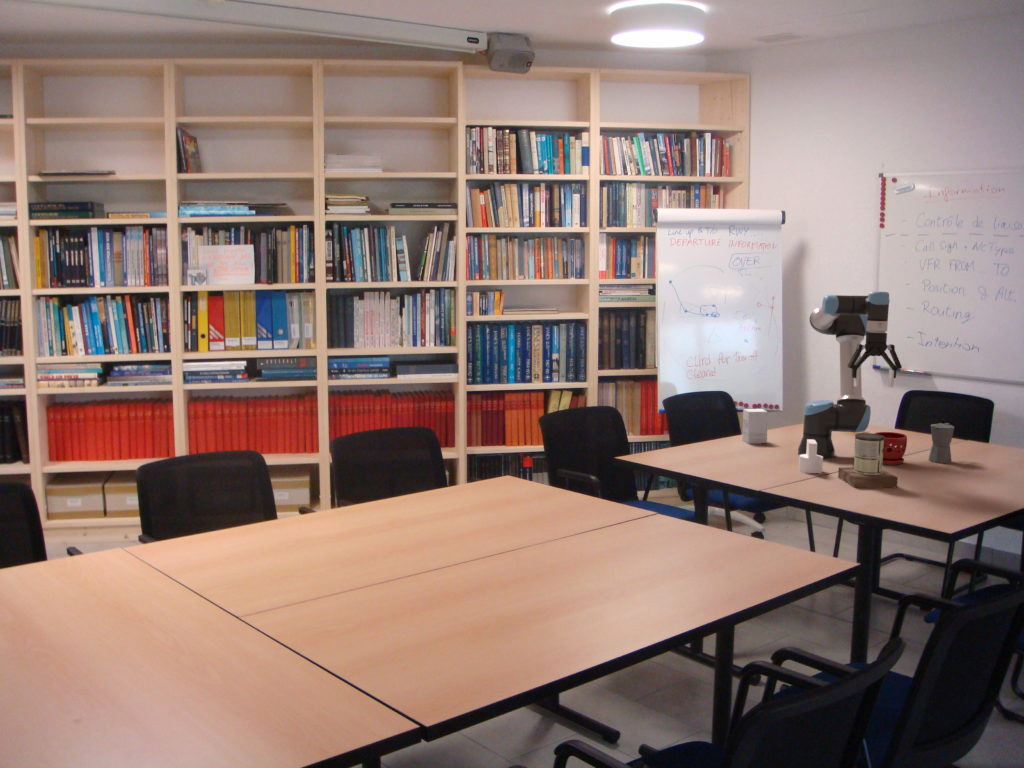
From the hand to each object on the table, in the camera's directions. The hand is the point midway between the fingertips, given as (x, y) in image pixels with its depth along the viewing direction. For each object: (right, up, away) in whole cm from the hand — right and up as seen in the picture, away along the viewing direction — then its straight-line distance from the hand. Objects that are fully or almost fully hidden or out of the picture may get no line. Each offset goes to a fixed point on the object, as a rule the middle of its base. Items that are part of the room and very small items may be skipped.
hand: (873, 386), depth 362 cm
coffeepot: (+40, -32, +30) cm, 59 cm away
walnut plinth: (-6, -36, -9) cm, 38 cm away
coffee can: (-6, -32, -10) cm, 34 cm away
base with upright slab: (-21, -34, +9) cm, 41 cm away
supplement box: (-29, -26, +67) cm, 78 cm away
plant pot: (+16, -32, +26) cm, 44 cm away
